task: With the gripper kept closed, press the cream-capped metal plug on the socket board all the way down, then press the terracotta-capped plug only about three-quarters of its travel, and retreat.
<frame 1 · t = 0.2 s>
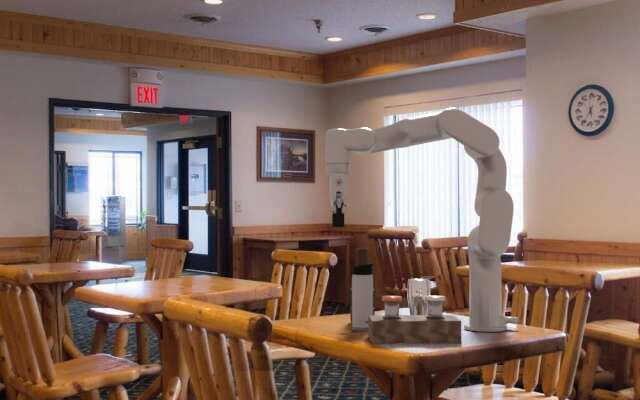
hand: (338, 226, 228), 31 cm above the table, fingers open, 9 cm apart
socket board: (413, 339, 210), on the table
plug cream: (435, 311, 210), point 8 cm above the table, slide at 0.0 cm
travel mug: (363, 330, 228), on the table
beer glass: (418, 329, 229), on the table
beer bottle: (362, 323, 243), on the table
plug terracotta: (391, 311, 210), point 8 cm above the table, slide at 0.0 cm
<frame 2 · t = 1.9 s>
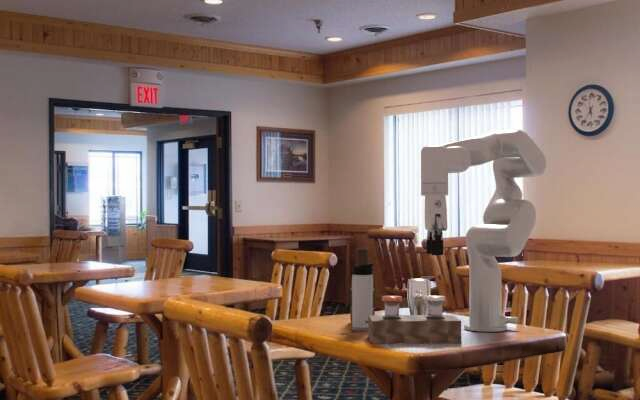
hand: (434, 253, 210), 24 cm above the table, fingers open, 6 cm apart
nothing on the table moved.
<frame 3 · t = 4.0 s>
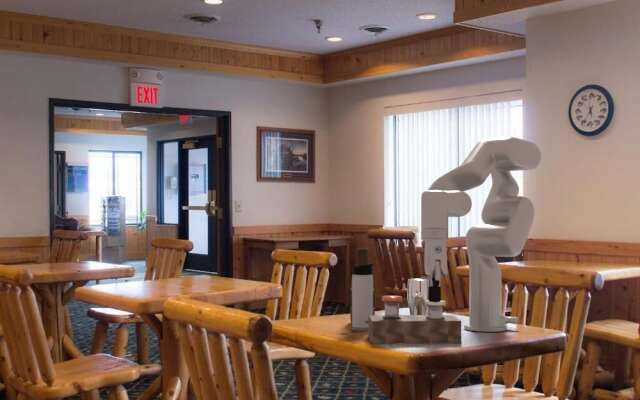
hand: (434, 301, 210), 11 cm above the table, fingers closed
plug cream: (435, 316, 210), point 7 cm above the table, slide at 1.3 cm, touching gripper
everything else where it was.
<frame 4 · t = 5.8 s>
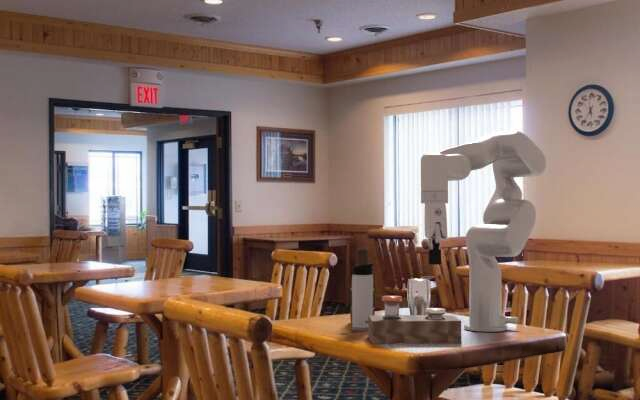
hand: (434, 264, 210), 21 cm above the table, fingers closed
plug cream: (435, 324, 210), point 4 cm above the table, slide at 3.5 cm
everything else where it was.
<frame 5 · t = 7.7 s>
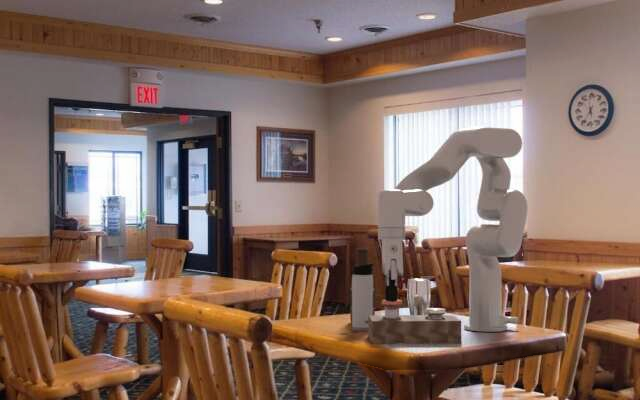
hand: (391, 300, 210), 11 cm above the table, fingers closed
plug terracotta: (391, 315, 210), point 7 cm above the table, slide at 1.1 cm, touching gripper
everything else where it was.
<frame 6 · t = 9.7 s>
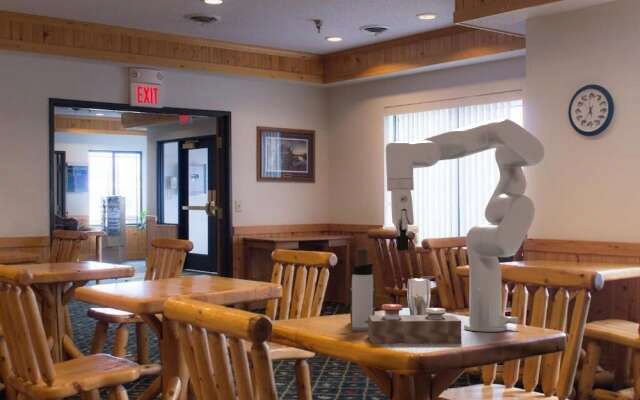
hand: (402, 250, 215), 25 cm above the table, fingers closed
plug terracotta: (391, 320, 210), point 5 cm above the table, slide at 2.4 cm
everything else where it was.
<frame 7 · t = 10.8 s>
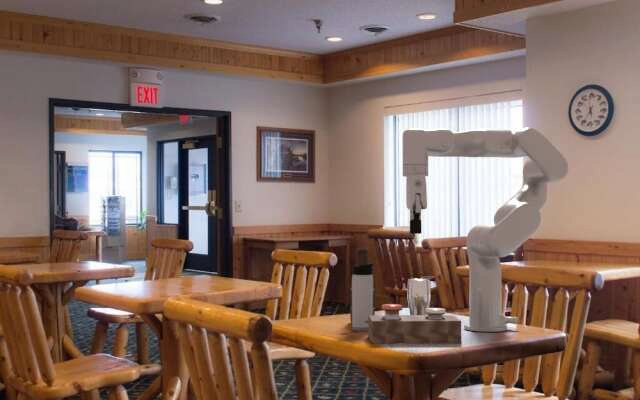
hand: (415, 233, 223), 29 cm above the table, fingers closed
nothing on the table moved.
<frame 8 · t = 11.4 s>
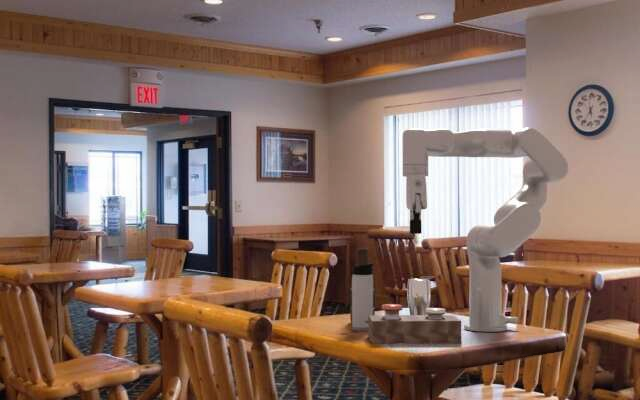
hand: (415, 233, 223), 29 cm above the table, fingers closed
nothing on the table moved.
at the end: plug cream slide at 3.5 cm; plug terracotta slide at 2.4 cm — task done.
